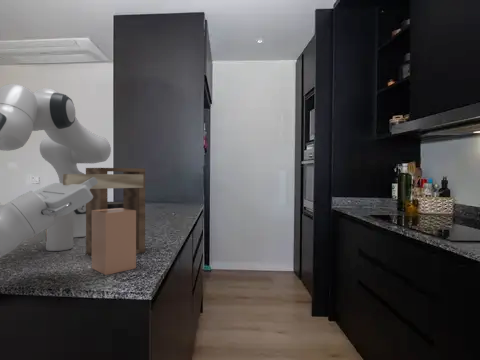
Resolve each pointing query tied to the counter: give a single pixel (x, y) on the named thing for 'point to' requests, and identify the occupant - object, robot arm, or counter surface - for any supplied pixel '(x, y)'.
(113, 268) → the pedestal
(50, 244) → the milk bottle
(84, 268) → the counter surface
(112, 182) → the bar
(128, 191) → the wooden open box
